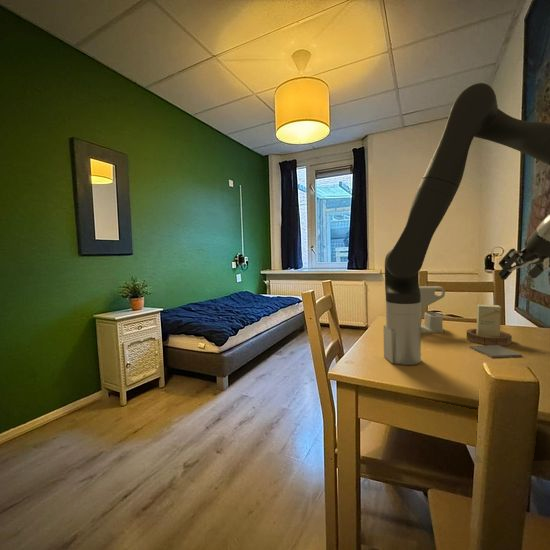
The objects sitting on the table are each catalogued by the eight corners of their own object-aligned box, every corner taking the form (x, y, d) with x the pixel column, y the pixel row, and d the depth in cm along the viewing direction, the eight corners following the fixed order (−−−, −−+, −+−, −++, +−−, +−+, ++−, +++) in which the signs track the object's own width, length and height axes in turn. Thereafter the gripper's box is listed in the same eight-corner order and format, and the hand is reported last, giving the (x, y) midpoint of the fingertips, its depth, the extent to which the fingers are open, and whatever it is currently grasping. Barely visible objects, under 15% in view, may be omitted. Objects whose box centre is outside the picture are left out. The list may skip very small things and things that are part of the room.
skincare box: (477, 341, 99) (478, 306, 98) (476, 337, 103) (476, 303, 102) (500, 343, 96) (501, 307, 95) (497, 339, 100) (498, 304, 99)
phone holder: (435, 326, 120) (435, 283, 119) (445, 333, 110) (445, 286, 109) (391, 326, 123) (391, 284, 122) (397, 332, 113) (397, 287, 112)
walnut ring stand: (483, 346, 94) (483, 338, 93) (459, 335, 106) (459, 329, 106) (520, 345, 94) (520, 337, 93) (492, 334, 106) (492, 328, 106)
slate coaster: (490, 357, 84) (490, 355, 84) (469, 347, 93) (469, 346, 93) (521, 356, 84) (521, 354, 84) (497, 346, 93) (497, 344, 93)
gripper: (574, 222, 73) (533, 266, 85) (517, 224, 73) (484, 268, 85) (597, 242, 68) (550, 285, 80) (536, 245, 68) (498, 288, 80)
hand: (516, 276), depth 82 cm, fingers open, 8 cm apart
